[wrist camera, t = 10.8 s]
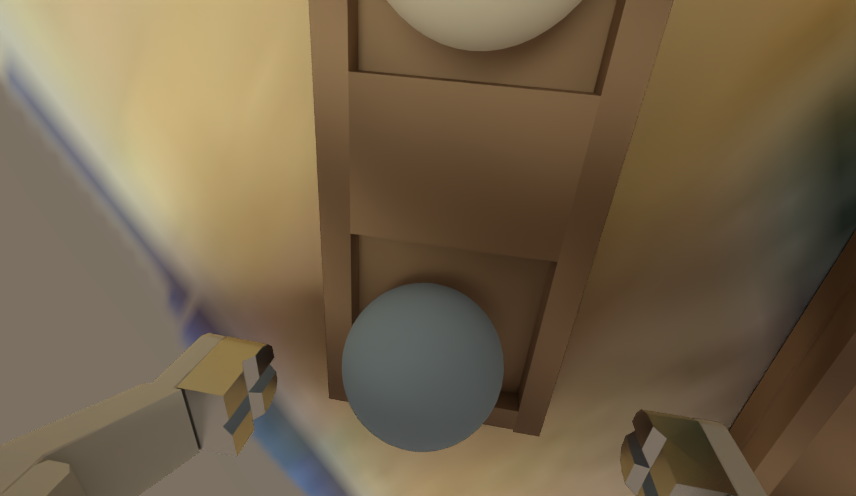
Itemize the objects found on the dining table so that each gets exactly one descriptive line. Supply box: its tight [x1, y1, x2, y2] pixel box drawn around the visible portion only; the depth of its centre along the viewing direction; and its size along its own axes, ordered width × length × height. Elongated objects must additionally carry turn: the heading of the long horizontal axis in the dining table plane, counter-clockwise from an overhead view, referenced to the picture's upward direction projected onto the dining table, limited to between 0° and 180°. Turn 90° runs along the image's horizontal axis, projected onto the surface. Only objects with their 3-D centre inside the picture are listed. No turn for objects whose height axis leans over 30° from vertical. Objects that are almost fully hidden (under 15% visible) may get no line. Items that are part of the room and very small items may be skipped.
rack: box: [309, 0, 674, 436], centre depth 10 cm, size 16×7×1 cm, turn 176°
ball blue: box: [342, 283, 504, 452], centre depth 10 cm, size 4×4×4 cm
